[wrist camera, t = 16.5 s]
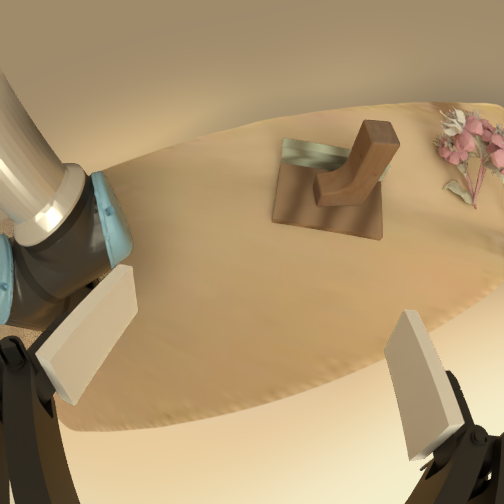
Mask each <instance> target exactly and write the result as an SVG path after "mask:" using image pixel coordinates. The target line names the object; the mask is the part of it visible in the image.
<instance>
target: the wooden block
mask: <svg viewBox="0 0 504 504" xmlns="http://www.w3.org/2000/svg"><path fill="white" fill-rule="evenodd" d="M399 146H400V142H399V140H398V138H397V135H396V133H395V131H394V129H393V127H392V125H391V123H390V122H387V121H376V120H364V121H363V123H362V125H361V128H360V130H359V133H358V135H357V138H356V140H355V142H354V145H353V147H352V150H351V152H350V154H349V157H348V159H347V161H346V162H345V163H344V164H343V166H342V167H340V168H338V169H336V170H334V171H331V172H323V173H317V174H316V178H315V181H314V184H313V191H314V196H315V201H316V205H317V207H326V206H349V205H362V204H363V203H364V202H365V200H366V199H367V197H368V196H369V194H370V193H371V191H372V189H373V188H374V186H375V185H376V183H377V182H378V180H379V179H380V177H381V175H382V174H383V172H384V171H385V169H386V168H387V166H388V164H389V163H390V161H391V159H392V158H393V156H394V155H395V153H396V151H397V150H398V148H399Z"/></svg>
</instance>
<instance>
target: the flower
mask: <svg viewBox="0 0 504 504" xmlns="http://www.w3.org/2000/svg"><path fill="white" fill-rule="evenodd" d="M453 109H454V111H453V113H452V112H451V111H450V109H449V111H450V113H447V112H446V113H447V116H446V115H444V114H443V113H442V111H441V110H440V113H441V114H442V115H444V116H445V119H446V122H443V121H441V122H442V123H444V124H441V125H442V129H443V130H444V132H445V133H446V134H447V135H445V134H444V137H443V136H442V135H441V133H438V134H437V136H438V138H439V139H438V140H437V142H439V143H440V144H437V142H434V141H433V144H435V145H436V146H438V147H439V148H438V149H437V151H438V152H439V155H440V157H444V159H445V160H446V161H447V162H450V163H451V164H455V165H458V164H459V165H458V166H457V167H458V169H459V170H460V172H461V173H463V174H464V176H465V178H466V179H467V182H468V185H469V189H470V192H471V195H470V193H469V192H468V191H466V190H464V189H463V188H461V186H460V185H459V184H458V182H457V181H455V180H452V181H451V182H449V183H448V184H446V186H445V187H444V188H443V189H442V190H445V189H447V188H449V189H450V190H451V191H453V192H454V193H456V194H458V195H460V196H461V197H462V198H463V200H464V201H465V202H466V203H468V204H473V205H474V207H475V209H476V199H477V195H478V192H479V190H480V187H481V184H482V180H483V177H484V174H485V171H486V169H488V170H491V171H492V176H493V174H494V172H495V173H496V174H497V176H498V177H499V179H500V180H501V181H502V182H503V183H504V168H502V166H504V131H502V124H497V130H496V128H494V127H492V125H491V124H489V122H488V121H487V120H486V119H481V118H480V116H479V112H478V111H477V110H475V109H473V113H472V115H473V116H472V115H469V114H468V112H467V111H466V113H463V112H462V111H461V110H457V109H455V108H454V107H453ZM469 113H470V112H469ZM470 114H471V113H470ZM464 115H465V116H466V117H465V116H464ZM483 130H484V131H483ZM503 130H504V128H503ZM454 135H455V136H454ZM450 136H451V137H450ZM474 137H475V138H474ZM436 139H437V138H436ZM439 140H440V141H439ZM489 142H491V143H490V144H489ZM475 147H476V152H477V154H475V153H472V152H471V151H473V150H474V149H475ZM466 151H468V152H466ZM469 156H470V157H476V156H477V157H478V156H479V157H478V158H480V161H481V164H480V170H479V175H478V180H477V184H476V189H475V193H474V192H473V187H472V183H471V180H470V178H469V176H468V173H467V166H468V163H467V161H468V159H469ZM459 157H460V158H461V159H462V162H461V160H460V158H459ZM459 161H460V162H459ZM503 188H504V185H503ZM471 196H472V197H471Z"/></svg>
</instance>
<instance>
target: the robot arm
mask: <svg viewBox="0 0 504 504" xmlns="http://www.w3.org/2000/svg"><path fill="white" fill-rule="evenodd" d="M0 209H1V210H2V211H3V212H4V213H5V214H6V215H7V216H8V217H9V218H11V219H12V220H13V232H14V236H13V237H11V238H8V236H7V235H5V234H4V233H3V234H0V325H4V324H5V325H10V326H15V327H20V328H25V329H30V330H36V331H42V332H43V333H42V334H41V335H40V336H39V337H38V338H37V339H36V341H35V342H34V343H33V344H32V345H31V346H30V347H29V349H28V350H26V348H25V347H24V344H23V342H22V341H21V339H20V338H19V337H17V336H7V337H4V338H3V339H2V340H0V504H10V498H9V497H10V495H9V480H10V482H11V488H12V493H13V497H14V501H15V504H80V502H79V499H78V496H77V493H76V490H75V487H74V484H73V481H72V478H71V474H70V471H69V468H68V464H67V460H66V456H65V453H64V448H63V444H62V439H61V434H60V430H59V424H58V419H57V413H56V406H55V400H54V398H53V394H54V393H55V391H56V392H57V393H58V395H59V397H60V398H61V399H62V400H64V401H66V402H68V403H69V404H71V405H73V406H75V405H76V404H77V402H78V401H79V399H80V397H81V396H82V394H83V393H84V391H85V389H86V388H87V386H88V385H89V383H90V382H91V380H92V378H93V377H94V375H95V374H96V372H97V371H98V369H99V368H100V366H101V365H102V363H103V362H104V360H105V359H106V357H107V356H108V354H109V353H110V351H111V350H112V348H113V347H114V345H115V344H116V342H117V341H118V339H119V338H120V337H121V335H122V334H123V332H124V331H125V329H126V328H127V326H128V325H129V324H130V322H131V321H132V319H133V318H134V317H135V315H136V314H137V312H138V306H137V299H136V292H135V285H134V277H133V268H132V266H127V265H123V264H119V265H118V266H117V267H116V268H115V266H116V265H117V264H118V263H120V262H121V261H122V260H124V259H125V258H126V257H128V256H129V255H130V253H131V251H132V249H133V239H132V235H131V232H130V229H129V227H128V224H127V222H126V219H125V217H124V214H123V212H122V209H121V207H120V205H119V202H118V200H117V198H116V196H115V193H114V191H113V189H112V187H111V185H110V183H109V181H108V179H107V177H106V176H105V175H104V174H103V172H101V171H98V172H94V173H92V174H91V175H90V176H89V177H88V175H87V174H86V173H85V171H84V170H83V169H82V167H81V166H80V165H78V164H75V163H63V164H62V162H61V161H60V160H59V158H58V157H57V155H56V154H55V153H54V151H53V150H52V149H51V147H50V146H49V144H48V143H47V141H46V140H45V139H44V137H43V136H42V134H41V133H40V131H39V130H38V129H37V127H36V125H35V124H34V122H33V121H32V119H31V118H30V116H29V115H28V114H27V112H26V110H25V109H24V107H23V105H22V104H21V102H20V101H19V99H18V98H17V96H16V94H15V92H14V91H13V89H12V87H11V86H10V84H9V82H8V80H7V79H6V77H5V75H4V73H3V71H2V70H1V68H0ZM113 268H114V269H113ZM111 269H113V270H112V271H111V272H110V273H109V274H108V275H107V276H106V277H105V278H104V279H103V280H102V281H101V282H100V283H99V281H98V280H97V278H98V277H100V276H101V275H103V274H104V273H106V272H108V271H109V270H111ZM384 353H385V357H386V360H387V364H388V367H389V370H390V375H391V379H392V382H393V386H394V390H395V394H396V398H397V403H398V407H399V411H400V416H401V420H402V425H403V430H404V435H405V440H406V445H407V450H408V457H409V461H414V460H420V459H425V458H426V457H427V456H428V455H430V454H431V453H432V452H433V456H434V458H433V459H432V460H430V461H429V462H428V463H427V464H425V465H424V466H423V467H422V468H421V469H420V471H422V470H423V469H425V468H426V467H427V468H426V470H425V472H424V473H423V475H422V477H421V479H420V480H419V482H418V484H417V485H416V487H415V489H414V490H413V492H412V494H411V495H410V497H409V498H408V500H407V501H406V503H405V504H504V432H503V433H502V434H501V435H500V436H491V435H488V433H487V432H486V430H485V429H484V428H483V427H481V426H479V425H475V424H474V422H473V419H472V417H471V414H470V411H469V408H468V406H467V403H466V401H465V398H464V397H463V396H464V395H463V393H462V390H460V385H459V383H458V381H457V379H456V377H455V376H454V375H453V374H452V373H451V371H445V370H444V367H443V365H442V363H441V360H440V358H439V356H438V354H437V351H436V349H435V347H434V345H433V343H432V341H431V338H430V337H429V334H428V332H427V330H426V328H425V326H424V324H423V322H422V320H421V318H420V316H419V314H418V312H417V310H409V309H404V310H403V312H402V314H401V316H400V318H399V320H398V323H397V325H396V327H395V329H394V331H393V333H392V335H391V337H390V339H389V341H388V343H387V345H386V347H385V349H384ZM490 473H491V479H489V480H488V475H489V474H490Z"/></svg>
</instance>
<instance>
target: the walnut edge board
mask: <svg viewBox="0 0 504 504" xmlns="http://www.w3.org/2000/svg"><path fill="white" fill-rule="evenodd" d="M350 152H351V150H349V149H344V148H339V147H334V146H329V145H324V144H318V143H313V142H307V141H300V140H294V139H287V138H284V141H283V149H282V158H281V166H280V172H279V179H278V186H277V192H276V199H275V205H274V212H273V218H272V222H274V223H280V224H287V225H293V226H299V227H305V228H312V229H318V230H324V231H330V232H336V233H341V234H347V235H353V236H359V237H364V238H370V239H375V240H380V239H381V238H382V237H383V225H382V196H381V180H382V179H383V177H384V175H385V174H386V172H387V171H388V169H389V168H390V165H389V164H388V166H387V168H386V169H385V171H384V172H383V174H382V175H381V177H380V179H379V180H378V182H377V183H376V185H375V186H374V188H373V189H372V191H371V193H370V194H369V196H368V197H367V199H366V200H365V202H364V203H363V204H362V205H349V206H326V207H317V205H316V201H315V196H314V191H313V184H314V181H315V178H316V174H317V173H323V172H331V171H334V170H336V169H338V168H340V167H342V166H343V164H344V163H345V162H346V161H347V159H348V157H349V154H350Z"/></svg>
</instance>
